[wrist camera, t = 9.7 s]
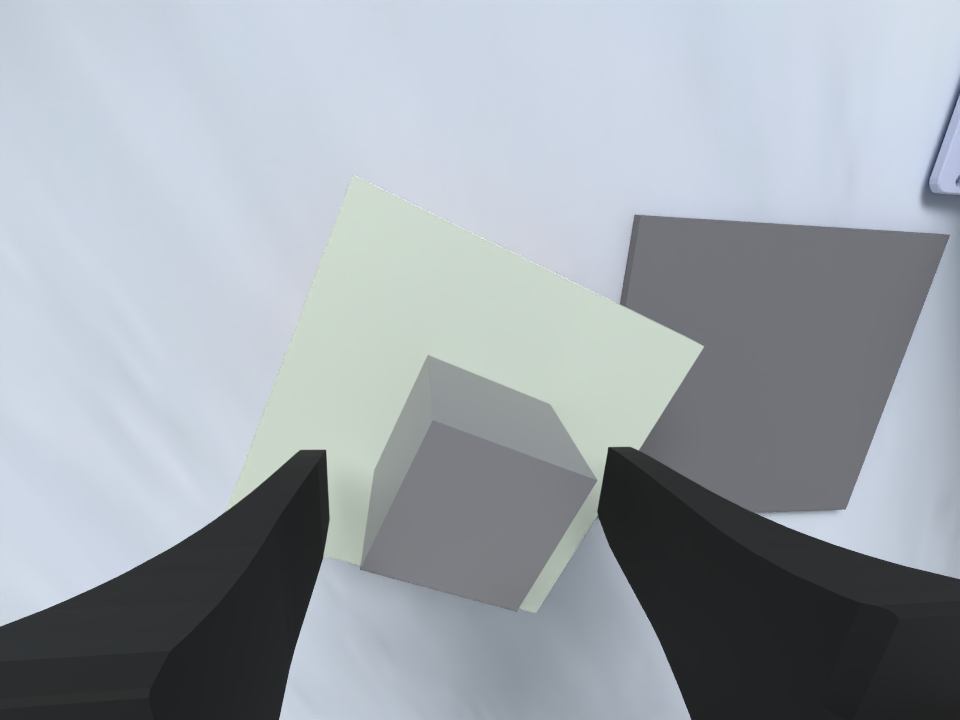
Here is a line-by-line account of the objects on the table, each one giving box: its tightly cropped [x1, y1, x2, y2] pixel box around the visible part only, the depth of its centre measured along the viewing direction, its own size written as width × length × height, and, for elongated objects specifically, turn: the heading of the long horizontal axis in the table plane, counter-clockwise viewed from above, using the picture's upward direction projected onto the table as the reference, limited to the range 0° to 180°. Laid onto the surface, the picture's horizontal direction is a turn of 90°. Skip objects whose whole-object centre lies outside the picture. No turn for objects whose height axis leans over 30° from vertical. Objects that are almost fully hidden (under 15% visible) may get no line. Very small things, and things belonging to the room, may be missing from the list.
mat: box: [597, 215, 950, 517], centre depth 20 cm, size 13×13×1 cm
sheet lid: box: [227, 176, 704, 613], centre depth 13 cm, size 11×11×5 cm
